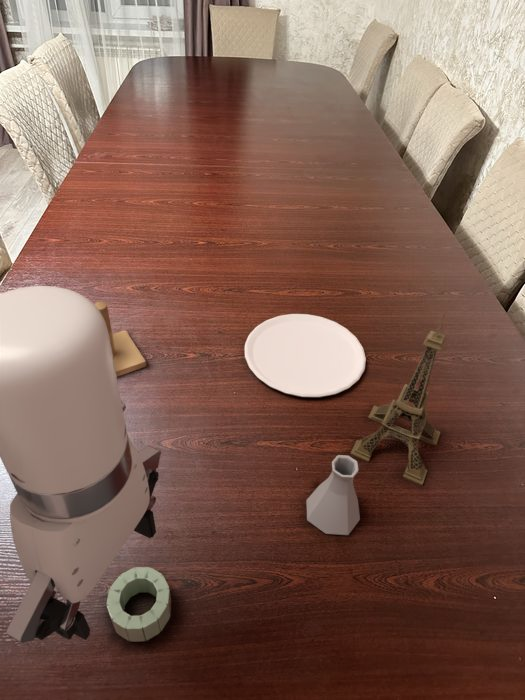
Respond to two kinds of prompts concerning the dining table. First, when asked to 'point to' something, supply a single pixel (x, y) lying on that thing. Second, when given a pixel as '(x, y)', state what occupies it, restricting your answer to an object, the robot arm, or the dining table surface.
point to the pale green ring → (130, 586)
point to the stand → (122, 347)
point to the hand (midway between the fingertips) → (109, 575)
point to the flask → (336, 499)
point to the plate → (305, 355)
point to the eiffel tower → (407, 415)
